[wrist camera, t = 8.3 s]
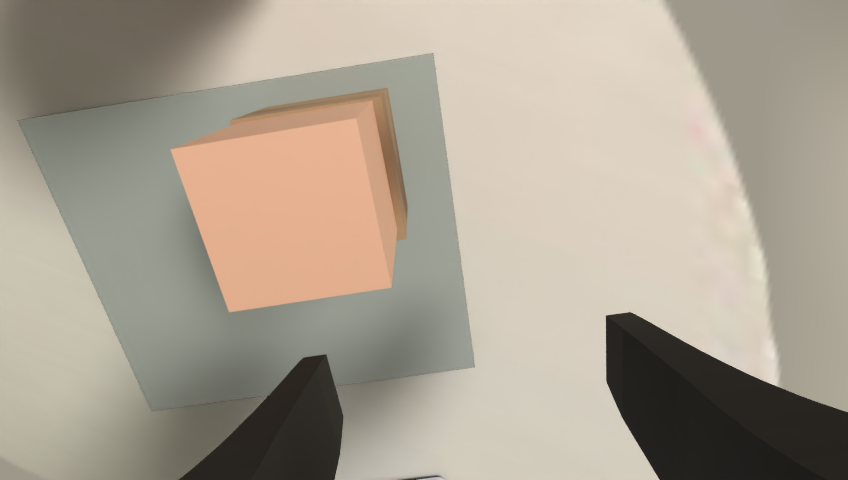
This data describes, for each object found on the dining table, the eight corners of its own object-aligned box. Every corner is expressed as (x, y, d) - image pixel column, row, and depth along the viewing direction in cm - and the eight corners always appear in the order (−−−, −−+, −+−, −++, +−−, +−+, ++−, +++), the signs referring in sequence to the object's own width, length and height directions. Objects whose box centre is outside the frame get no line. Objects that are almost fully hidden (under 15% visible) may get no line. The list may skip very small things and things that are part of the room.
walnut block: (407, 205, 21) (406, 239, 17) (296, 222, 21) (270, 259, 17) (387, 87, 19) (381, 96, 15) (265, 106, 19) (229, 120, 15)
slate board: (473, 360, 24) (474, 367, 24) (157, 403, 25) (151, 410, 25) (432, 53, 19) (433, 53, 18) (28, 118, 20) (17, 120, 19)
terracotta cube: (397, 229, 17) (391, 287, 13) (274, 248, 17) (229, 312, 13) (372, 100, 15) (356, 117, 11) (236, 123, 15) (170, 149, 11)
